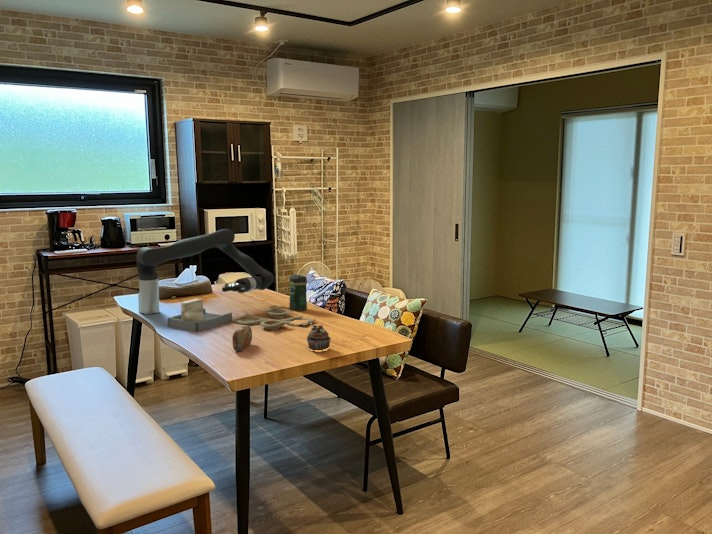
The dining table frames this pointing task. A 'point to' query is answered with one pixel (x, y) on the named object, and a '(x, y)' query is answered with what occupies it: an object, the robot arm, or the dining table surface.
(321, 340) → the cupcake
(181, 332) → the dining table surface
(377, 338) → the dining table surface
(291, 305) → the coffee jar
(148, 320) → the dining table surface
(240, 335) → the brown flat stone
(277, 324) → the tableware set
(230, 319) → the grey tray
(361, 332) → the dining table surface
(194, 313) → the birch block
